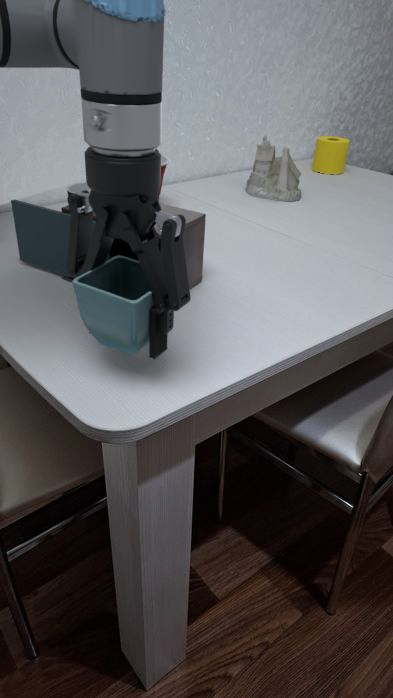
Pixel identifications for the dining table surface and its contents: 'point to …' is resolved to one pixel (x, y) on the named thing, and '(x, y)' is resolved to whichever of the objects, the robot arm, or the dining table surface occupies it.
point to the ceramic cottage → (274, 175)
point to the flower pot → (116, 304)
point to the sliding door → (43, 236)
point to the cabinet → (191, 239)
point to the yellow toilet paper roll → (330, 154)
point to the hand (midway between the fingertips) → (127, 340)
